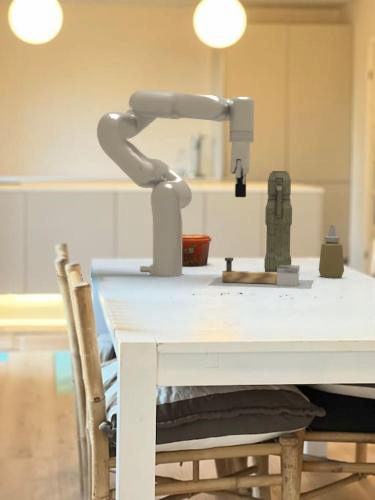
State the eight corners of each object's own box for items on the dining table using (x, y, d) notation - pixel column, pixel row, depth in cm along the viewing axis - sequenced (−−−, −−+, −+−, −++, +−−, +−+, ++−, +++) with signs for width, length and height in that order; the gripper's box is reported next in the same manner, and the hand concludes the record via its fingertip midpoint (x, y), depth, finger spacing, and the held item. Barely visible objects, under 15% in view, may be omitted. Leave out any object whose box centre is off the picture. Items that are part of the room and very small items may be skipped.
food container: (171, 261, 333) (171, 233, 332) (213, 262, 331) (213, 234, 330) (164, 266, 317) (164, 237, 316) (208, 267, 315) (208, 238, 314)
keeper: (276, 285, 259) (277, 267, 258) (279, 282, 267) (279, 264, 266) (297, 286, 258) (297, 268, 257) (299, 282, 265) (299, 265, 265)
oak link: (221, 281, 264) (221, 258, 263) (223, 280, 268) (223, 257, 267) (297, 284, 259) (297, 260, 258) (298, 282, 263) (299, 259, 262)
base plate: (207, 290, 259) (207, 285, 259) (218, 281, 278) (218, 277, 277) (309, 293, 253) (310, 288, 253) (313, 285, 272) (313, 280, 272)
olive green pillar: (266, 278, 287) (268, 171, 283) (262, 273, 298) (263, 170, 295) (293, 278, 287) (295, 171, 284) (288, 273, 299) (290, 171, 295)
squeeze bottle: (343, 283, 276) (344, 226, 274) (317, 282, 277) (318, 226, 276) (344, 280, 284) (345, 224, 282) (319, 279, 285) (320, 224, 283)
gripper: (232, 138, 278) (232, 196, 280) (225, 136, 263) (224, 197, 265) (256, 138, 276) (255, 196, 278) (250, 136, 262) (249, 198, 264)
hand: (240, 196), depth 272 cm, fingers closed
